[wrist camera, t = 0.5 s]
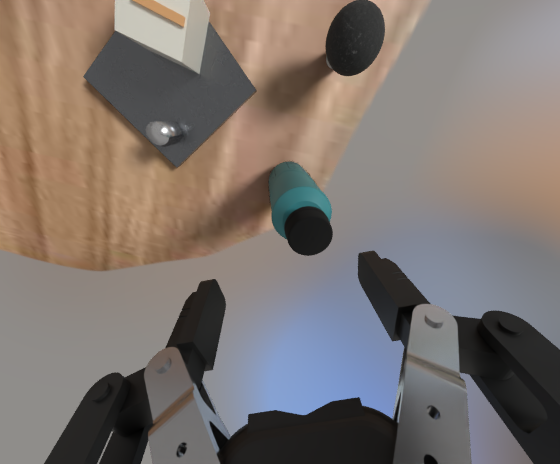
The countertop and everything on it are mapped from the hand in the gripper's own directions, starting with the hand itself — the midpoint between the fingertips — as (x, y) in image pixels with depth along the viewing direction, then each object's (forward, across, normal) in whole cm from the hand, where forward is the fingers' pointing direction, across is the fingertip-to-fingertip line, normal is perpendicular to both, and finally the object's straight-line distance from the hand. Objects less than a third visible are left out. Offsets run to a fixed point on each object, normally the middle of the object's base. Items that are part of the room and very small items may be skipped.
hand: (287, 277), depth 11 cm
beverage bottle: (+26, -2, +2) cm, 26 cm away
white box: (+24, +8, -18) cm, 31 cm away
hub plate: (+26, +10, -13) cm, 31 cm away
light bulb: (+26, -11, -12) cm, 31 cm away
